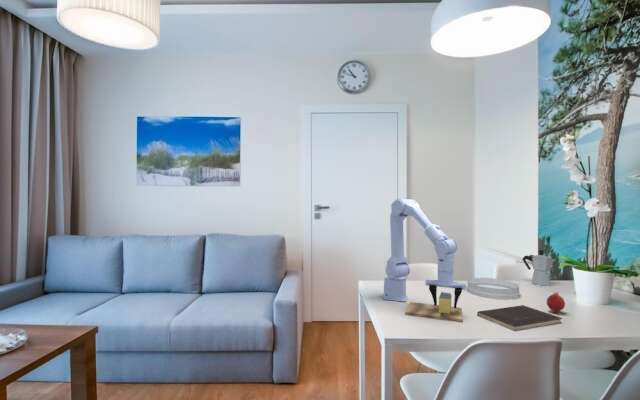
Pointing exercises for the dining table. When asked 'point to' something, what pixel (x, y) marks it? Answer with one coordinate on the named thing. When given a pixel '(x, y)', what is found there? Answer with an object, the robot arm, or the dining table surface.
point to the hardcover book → (519, 317)
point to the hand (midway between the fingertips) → (445, 306)
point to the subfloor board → (433, 312)
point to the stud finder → (445, 302)
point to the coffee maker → (540, 268)
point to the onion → (555, 302)
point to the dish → (493, 288)
